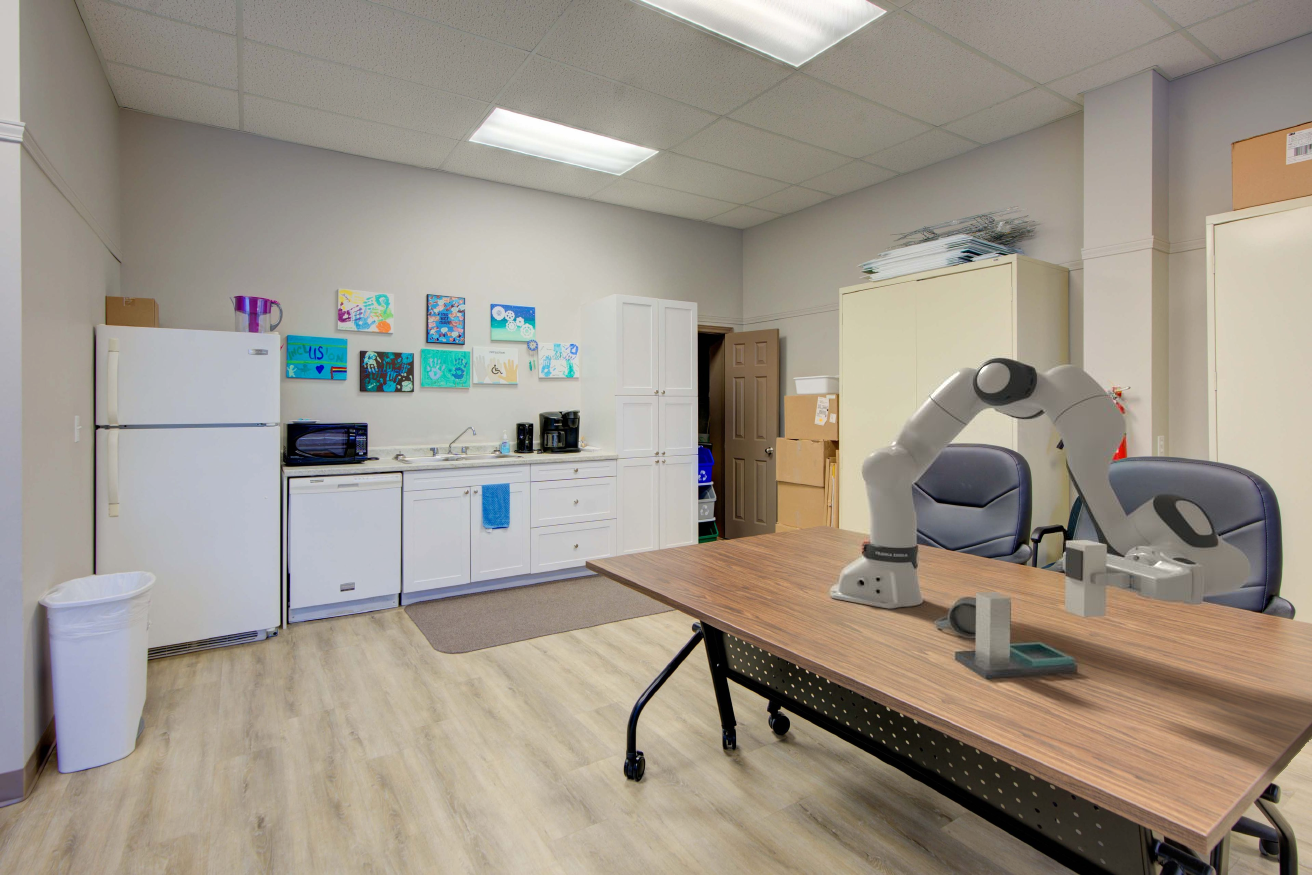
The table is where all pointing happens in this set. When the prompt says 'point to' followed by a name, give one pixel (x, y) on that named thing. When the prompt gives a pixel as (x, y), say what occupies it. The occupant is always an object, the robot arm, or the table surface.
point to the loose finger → (1085, 578)
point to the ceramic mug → (961, 618)
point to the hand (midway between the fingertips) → (1080, 574)
